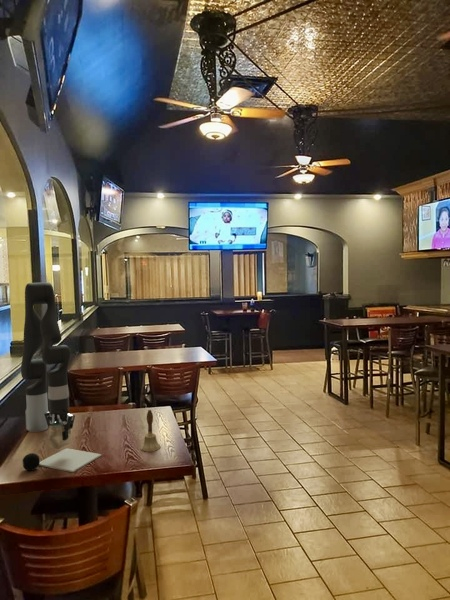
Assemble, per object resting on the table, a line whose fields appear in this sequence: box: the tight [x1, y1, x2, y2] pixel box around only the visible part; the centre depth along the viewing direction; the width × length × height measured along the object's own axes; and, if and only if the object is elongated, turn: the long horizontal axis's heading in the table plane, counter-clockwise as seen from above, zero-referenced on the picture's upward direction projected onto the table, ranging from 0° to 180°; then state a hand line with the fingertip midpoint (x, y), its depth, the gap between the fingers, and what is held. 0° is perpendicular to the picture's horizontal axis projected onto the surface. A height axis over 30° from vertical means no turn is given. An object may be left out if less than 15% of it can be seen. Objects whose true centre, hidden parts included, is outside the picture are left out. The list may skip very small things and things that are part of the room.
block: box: [48, 421, 72, 450], centre depth 181 cm, size 4×7×9 cm, turn 156°
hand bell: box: [139, 409, 161, 453], centre depth 190 cm, size 8×8×16 cm
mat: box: [38, 447, 102, 473], centre depth 180 cm, size 18×16×1 cm
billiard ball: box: [22, 452, 41, 471], centre depth 172 cm, size 6×6×6 cm
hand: (60, 438), depth 181 cm, fingers closed on block, 4 cm apart
